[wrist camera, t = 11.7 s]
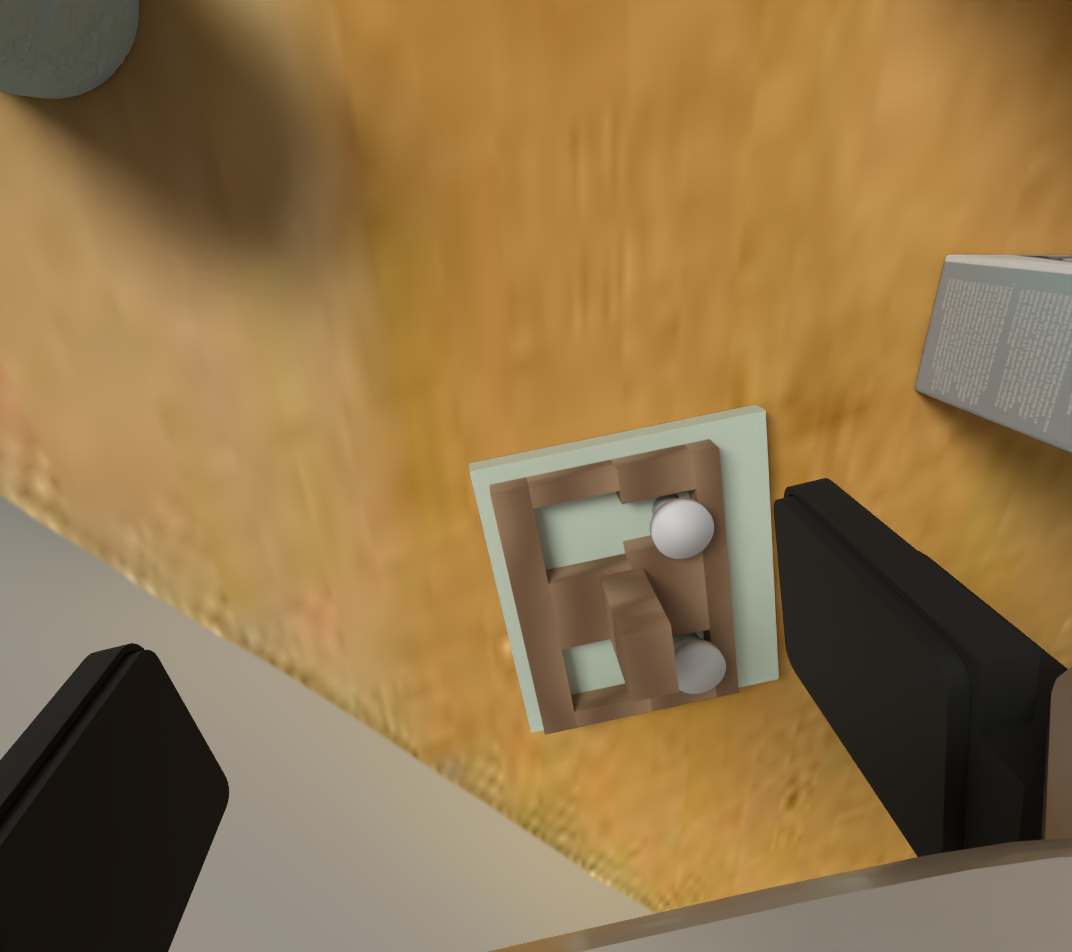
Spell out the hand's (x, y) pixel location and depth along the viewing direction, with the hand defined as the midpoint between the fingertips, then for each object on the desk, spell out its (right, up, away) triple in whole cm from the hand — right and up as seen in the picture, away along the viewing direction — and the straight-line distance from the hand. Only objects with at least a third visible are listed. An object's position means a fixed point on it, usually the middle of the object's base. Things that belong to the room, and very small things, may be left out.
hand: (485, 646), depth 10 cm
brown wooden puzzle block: (+6, -4, +29) cm, 30 cm away
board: (+7, -3, +30) cm, 31 cm away
